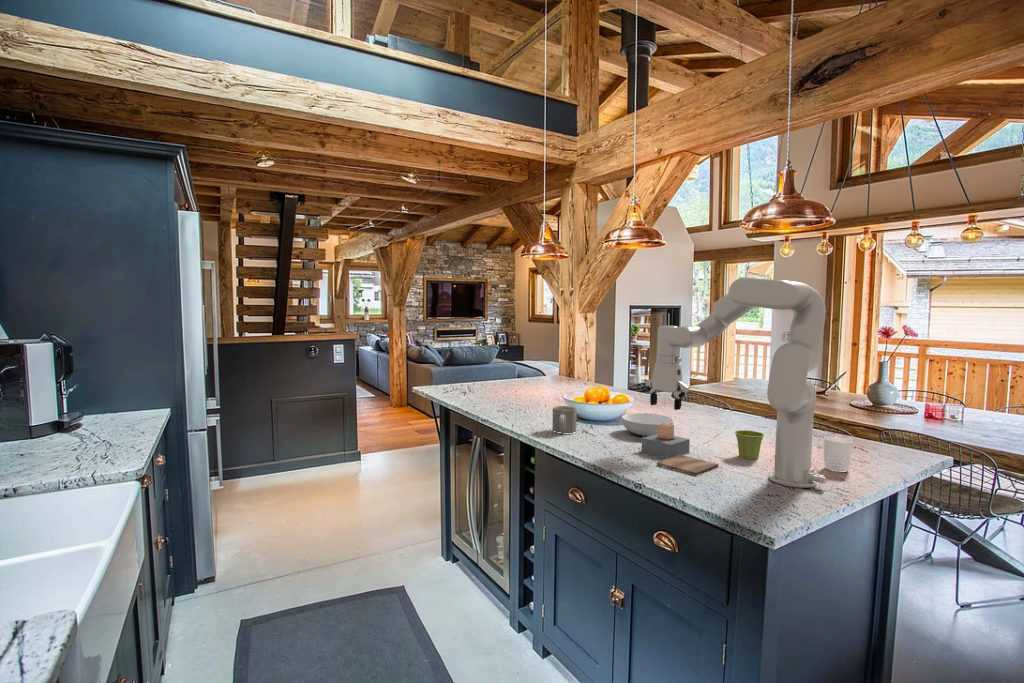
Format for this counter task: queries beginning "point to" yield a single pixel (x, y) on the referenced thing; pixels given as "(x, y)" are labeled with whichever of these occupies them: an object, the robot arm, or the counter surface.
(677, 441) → the socket block
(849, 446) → the white cup
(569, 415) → the coffee mug
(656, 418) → the serving bowl
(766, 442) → the counter surface
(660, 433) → the copper peg
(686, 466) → the walnut mat
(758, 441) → the plant pot
